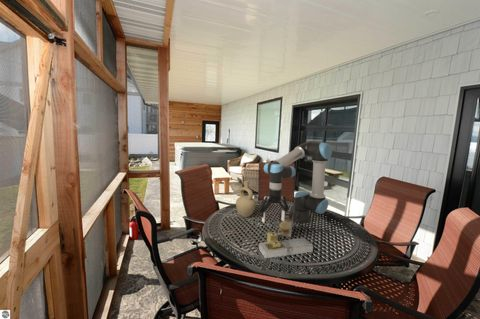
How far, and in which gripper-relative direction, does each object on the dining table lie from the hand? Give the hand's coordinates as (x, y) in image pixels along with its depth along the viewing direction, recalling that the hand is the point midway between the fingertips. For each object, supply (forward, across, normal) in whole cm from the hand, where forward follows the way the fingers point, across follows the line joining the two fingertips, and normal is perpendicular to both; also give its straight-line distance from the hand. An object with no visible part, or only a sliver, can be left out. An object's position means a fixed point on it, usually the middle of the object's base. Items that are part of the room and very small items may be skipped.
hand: (273, 221), depth 145 cm
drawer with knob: (+15, +3, +11) cm, 19 cm away
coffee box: (+15, -14, -9) cm, 22 cm away
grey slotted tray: (+14, -4, +11) cm, 19 cm away
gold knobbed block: (+15, 0, 0) cm, 15 cm away
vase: (+15, +3, -47) cm, 49 cm away
